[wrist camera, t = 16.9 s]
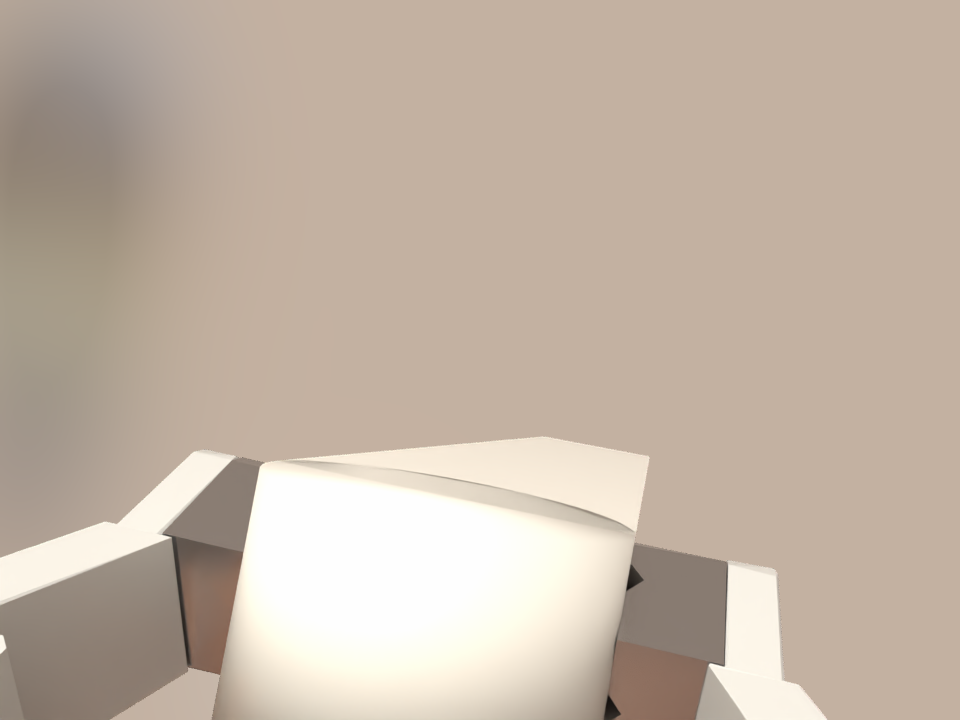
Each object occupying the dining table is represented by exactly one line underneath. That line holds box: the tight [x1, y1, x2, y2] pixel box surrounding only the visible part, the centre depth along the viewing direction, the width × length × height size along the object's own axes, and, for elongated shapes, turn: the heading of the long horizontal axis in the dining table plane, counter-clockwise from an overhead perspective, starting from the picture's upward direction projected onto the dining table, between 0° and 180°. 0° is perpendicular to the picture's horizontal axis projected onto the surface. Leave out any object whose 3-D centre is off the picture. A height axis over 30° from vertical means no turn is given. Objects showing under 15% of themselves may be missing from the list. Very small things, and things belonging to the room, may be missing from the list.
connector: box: [212, 436, 649, 720], centre depth 19 cm, size 4×26×2 cm, turn 169°
